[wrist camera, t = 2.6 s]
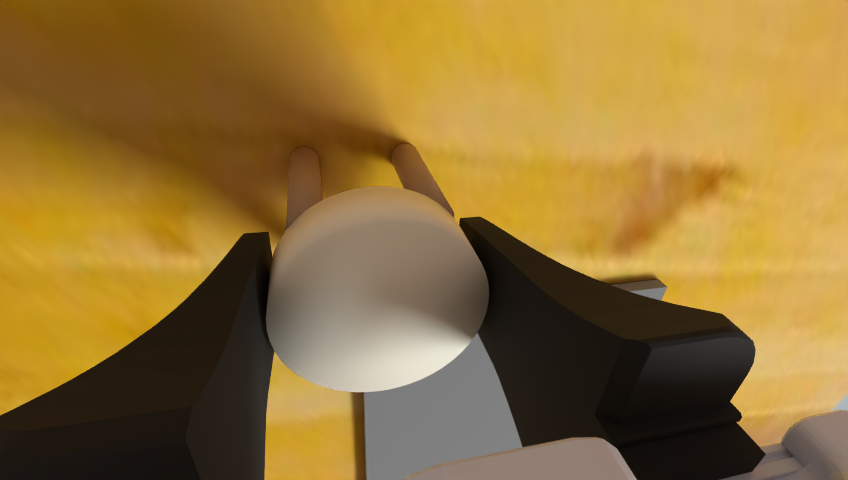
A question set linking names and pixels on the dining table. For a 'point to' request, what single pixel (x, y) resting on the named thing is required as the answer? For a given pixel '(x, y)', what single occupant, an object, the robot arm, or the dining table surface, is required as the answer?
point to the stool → (372, 280)
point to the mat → (447, 413)
